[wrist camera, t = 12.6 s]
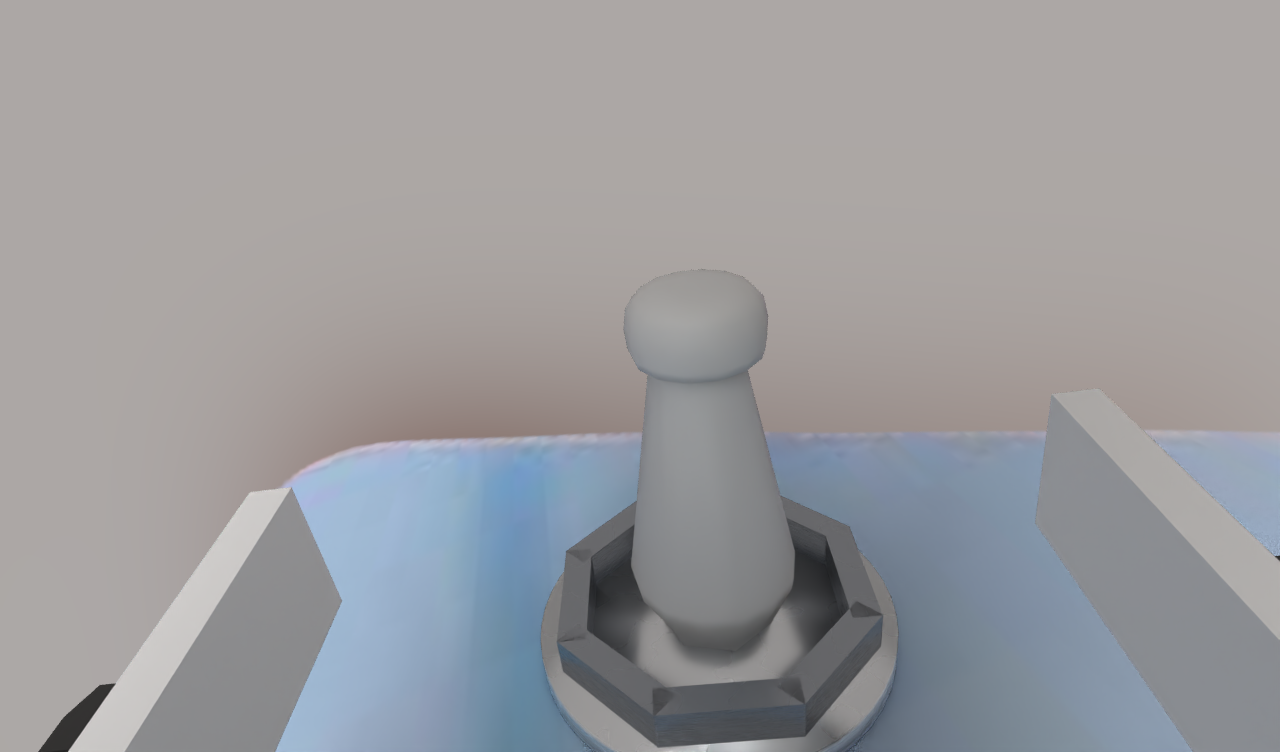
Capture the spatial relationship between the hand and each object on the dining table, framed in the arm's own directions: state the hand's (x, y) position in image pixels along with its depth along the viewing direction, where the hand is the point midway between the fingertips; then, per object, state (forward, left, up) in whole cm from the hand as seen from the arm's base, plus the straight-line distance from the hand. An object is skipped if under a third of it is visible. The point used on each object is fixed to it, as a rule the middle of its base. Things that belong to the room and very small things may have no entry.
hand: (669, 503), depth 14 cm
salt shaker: (-1, -10, -13) cm, 17 cm away
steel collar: (-1, -10, -14) cm, 18 cm away
